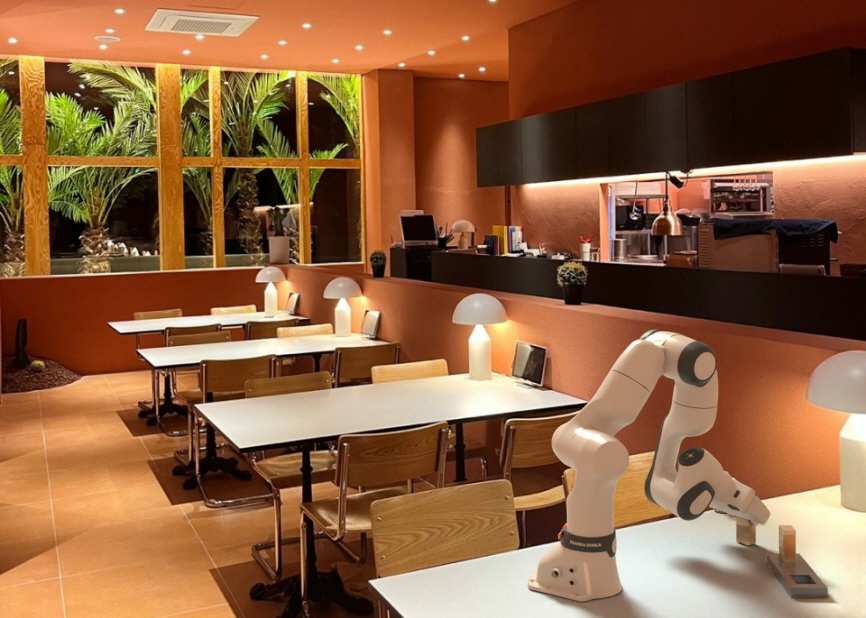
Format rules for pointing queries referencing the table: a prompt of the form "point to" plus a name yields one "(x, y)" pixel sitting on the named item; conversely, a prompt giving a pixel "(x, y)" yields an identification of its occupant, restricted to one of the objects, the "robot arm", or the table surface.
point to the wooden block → (745, 531)
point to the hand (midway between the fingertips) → (747, 520)
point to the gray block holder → (794, 568)
